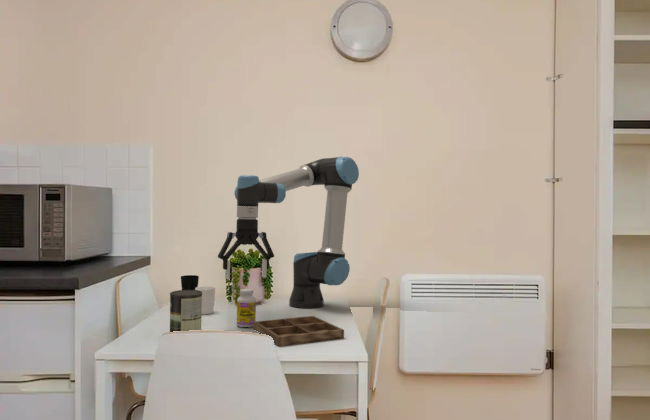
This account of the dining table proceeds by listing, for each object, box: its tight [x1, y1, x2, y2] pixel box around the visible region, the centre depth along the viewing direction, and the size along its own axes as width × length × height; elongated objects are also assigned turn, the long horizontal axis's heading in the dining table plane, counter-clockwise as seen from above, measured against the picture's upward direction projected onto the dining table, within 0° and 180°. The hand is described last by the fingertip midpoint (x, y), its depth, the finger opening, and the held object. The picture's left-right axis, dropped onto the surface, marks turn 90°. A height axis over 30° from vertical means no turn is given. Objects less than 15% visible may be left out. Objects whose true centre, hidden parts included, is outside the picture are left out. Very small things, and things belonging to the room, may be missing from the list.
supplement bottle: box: [236, 288, 257, 328], centre depth 176 cm, size 7×7×13 cm
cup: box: [180, 274, 200, 290], centre depth 215 cm, size 8×8×12 cm
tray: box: [253, 315, 345, 348], centre depth 165 cm, size 23×23×3 cm
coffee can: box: [169, 289, 203, 333], centre depth 162 cm, size 10×10×14 cm
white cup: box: [195, 285, 216, 315], centre depth 197 cm, size 8×8×10 cm
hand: (246, 278), depth 175 cm, fingers open, 13 cm apart
